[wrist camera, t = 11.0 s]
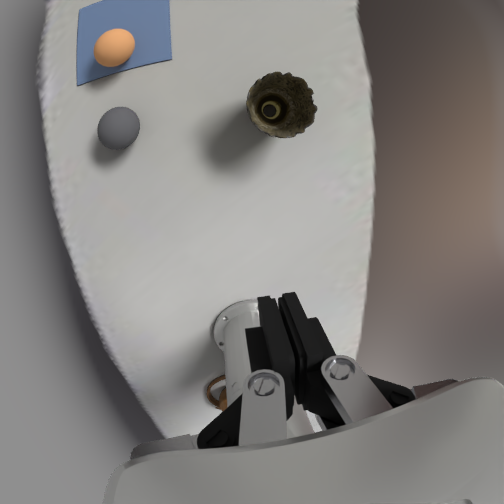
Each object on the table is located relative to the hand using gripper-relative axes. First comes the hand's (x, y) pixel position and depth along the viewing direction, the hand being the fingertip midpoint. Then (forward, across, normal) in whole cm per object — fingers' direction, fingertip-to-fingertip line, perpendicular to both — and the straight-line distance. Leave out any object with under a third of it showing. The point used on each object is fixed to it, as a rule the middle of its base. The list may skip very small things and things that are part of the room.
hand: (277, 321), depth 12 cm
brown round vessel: (+27, -5, -11) cm, 30 cm away
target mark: (+27, +14, -27) cm, 41 cm away
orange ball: (+24, +14, -23) cm, 36 cm away
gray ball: (+24, +14, -12) cm, 30 cm away
